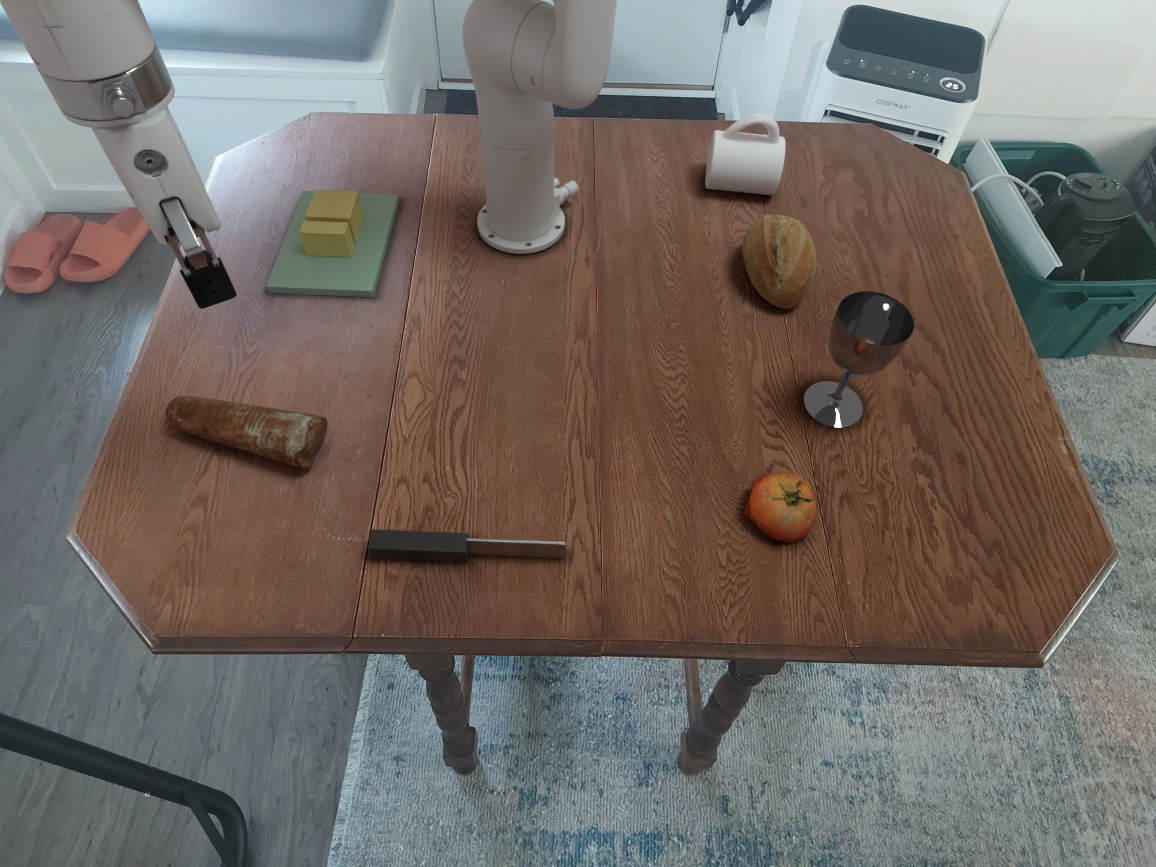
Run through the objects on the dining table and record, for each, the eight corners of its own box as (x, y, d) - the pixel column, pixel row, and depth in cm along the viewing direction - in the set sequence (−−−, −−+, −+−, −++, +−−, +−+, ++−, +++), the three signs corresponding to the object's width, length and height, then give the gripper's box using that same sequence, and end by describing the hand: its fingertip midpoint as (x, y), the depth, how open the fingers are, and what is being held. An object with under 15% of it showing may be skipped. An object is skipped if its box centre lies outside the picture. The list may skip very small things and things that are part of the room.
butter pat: (311, 243, 104) (303, 220, 101) (354, 245, 104) (348, 222, 101) (307, 255, 103) (298, 232, 100) (351, 257, 103) (344, 234, 100)
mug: (705, 166, 119) (719, 94, 109) (771, 173, 118) (791, 101, 108) (704, 199, 114) (718, 127, 104) (773, 206, 113) (793, 134, 103)
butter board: (304, 197, 112) (295, 167, 108) (399, 201, 112) (393, 171, 108) (268, 293, 100) (255, 263, 96) (373, 297, 100) (365, 268, 96)
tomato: (769, 555, 78) (766, 488, 77) (732, 535, 84) (729, 473, 83) (832, 539, 81) (830, 473, 79) (792, 521, 87) (789, 460, 86)
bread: (313, 480, 84) (299, 453, 79) (163, 436, 87) (141, 407, 82) (340, 436, 87) (328, 407, 83) (195, 395, 90) (176, 365, 86)
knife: (372, 558, 79) (366, 544, 76) (376, 539, 80) (370, 525, 77) (564, 566, 79) (564, 553, 76) (565, 547, 80) (565, 533, 77)
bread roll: (745, 316, 100) (759, 270, 93) (729, 240, 109) (741, 194, 102) (817, 316, 100) (835, 270, 94) (795, 240, 109) (811, 194, 102)
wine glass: (869, 388, 93) (917, 301, 81) (862, 438, 89) (911, 354, 77) (805, 371, 95) (842, 283, 82) (795, 419, 90) (832, 334, 78)
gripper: (200, 126, 49) (276, 312, 63) (134, 12, 58) (215, 199, 72) (78, 159, 47) (185, 346, 61) (27, 36, 55) (132, 225, 69)
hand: (201, 267), depth 66 cm, fingers open, 9 cm apart
